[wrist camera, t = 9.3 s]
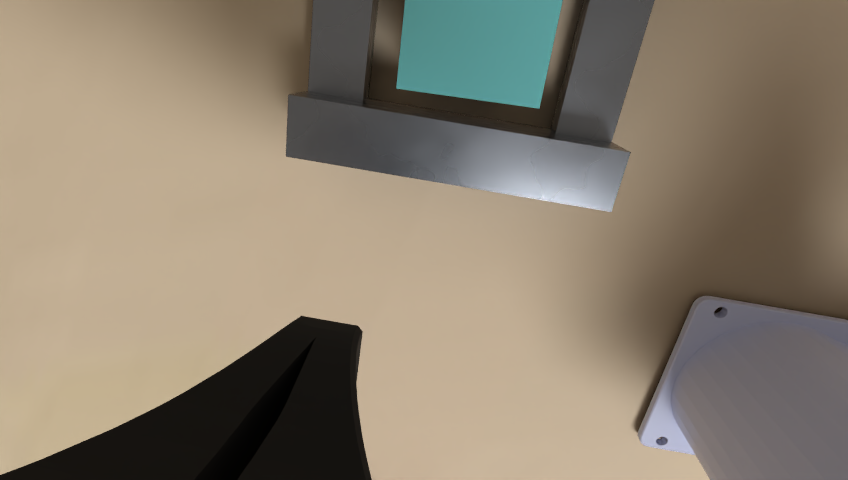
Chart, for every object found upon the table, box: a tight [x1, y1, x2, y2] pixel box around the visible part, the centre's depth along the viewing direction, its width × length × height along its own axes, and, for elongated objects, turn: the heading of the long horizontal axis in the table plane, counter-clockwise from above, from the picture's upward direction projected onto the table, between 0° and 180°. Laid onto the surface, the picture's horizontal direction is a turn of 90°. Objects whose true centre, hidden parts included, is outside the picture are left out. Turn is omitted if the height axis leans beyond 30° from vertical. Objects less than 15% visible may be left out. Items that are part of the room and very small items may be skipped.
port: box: [286, 0, 655, 212], centre depth 15 cm, size 11×9×3 cm
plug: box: [396, 0, 563, 109], centre depth 13 cm, size 4×4×6 cm
